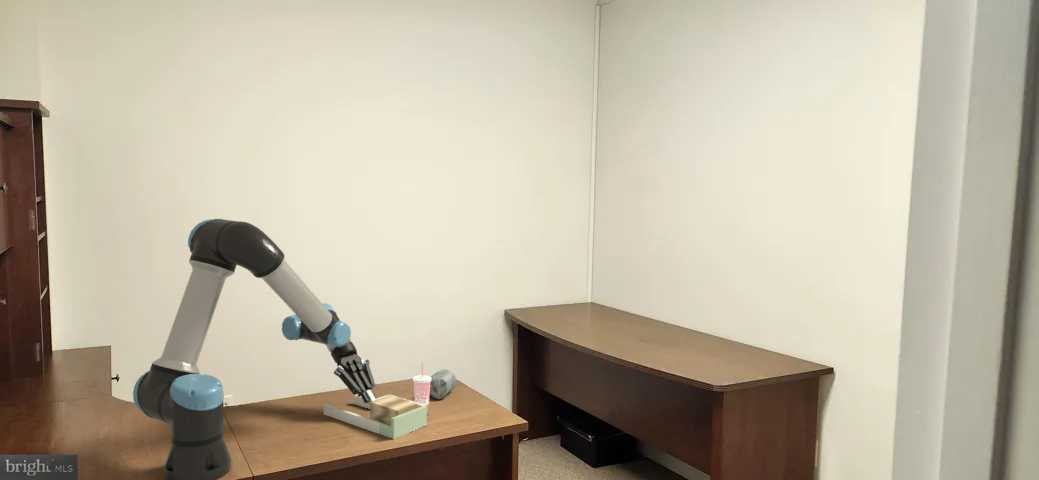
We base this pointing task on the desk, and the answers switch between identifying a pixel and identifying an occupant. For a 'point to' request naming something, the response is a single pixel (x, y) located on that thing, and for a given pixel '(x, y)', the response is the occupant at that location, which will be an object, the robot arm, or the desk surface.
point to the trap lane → (398, 423)
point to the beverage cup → (422, 388)
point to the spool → (442, 383)
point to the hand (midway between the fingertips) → (376, 410)
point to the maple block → (389, 408)
